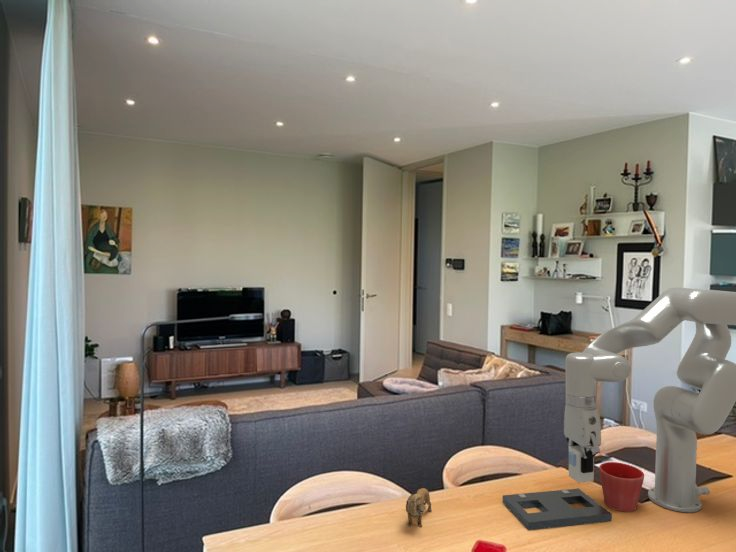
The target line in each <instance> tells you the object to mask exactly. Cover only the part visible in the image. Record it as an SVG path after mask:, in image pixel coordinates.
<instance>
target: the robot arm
mask: <svg viewBox="0 0 736 552" xmlns="http://www.w3.org/2000/svg"><path fill="white" fill-rule="evenodd" d="M684 321H688V322H693V323H695V334H694V337H693V339H692V341H691V342H690V345H689V347H688V348H687V350H686V352H685V354H684V355H683V357H682V359H681V361H680V363H679V365H678V366H677V370H676V376H677V378H678V379H679V381H680V382H681V383H683V384H684V385H687V386H688V387H691V388H694V389H697V390H700V392H699V393H697V392H695V391H692V390H688V389H687V388H686V389H685V388H683V387H679V386H674V385H667V386H664V387H662V388H660V389H659V390H657V392H656V393H655V395H654V398H653V403H652V404H653V411H654V416H655V424H656V440H655V441H656V442H655V465H654V466H655V468H654V469H655V471H654V472H655V473H654V487H651V488H649V489H648V491H647V492H648V493H647V496H648V497H647V498H649V500H650V501H652V502H653V503H654V504H656V505H658V506H659V507H662V508H665V509H668V510H670V511H675V512H681V513H697V512H698V511H700V510H702V504H703V503H702V501H701V500H700V499H699V497H701V495H702V496H704V495H710V493H711V491H710V488H709V487H708V486H700V487H698V485H697V484H696V477H697V454H698V453H697V450H698V439H697V434H701V435H712V434H714V433H715V432H717V431H719V430H720V428H721V427H722V426H723V424H724V423H725V421H726V420H727V418H728V416H729V414H730V413H731V411H732V409H733V407H734V405H736V363H735V362H733V361H731V360H729V359H726V357H727V355H728V353H729V351H730V349H731V346H732V335H731V332H730V329H729V327H728V325H729V326H736V291H729V290H727V291H726V290H717V289H716V290H715V289H701V288H699V289H698V288H686V287H671V288H668V289H666V290H665V291H663V292H662V293H661V294H660V295H659V296H658V297H656V298H655V299H654V300H653V301H651V303H649V305H647V306H646V307H645V308H644V309H643V310H641V312H639V313H638V314H637V315H636V316H635V317H633V319H631V320H628V321H625V322H624V323H621V324H618V325H617V326H615V327H612V328H610V329H608V330H606V331H604V332H603V333H601V334H600V335H598V336H597V337H596V338H595V339H594V340H592V341H591V342H590V343H589V344H588V345H587V346H586V347H585V348H584V350H583V351H582V352H577V351H576V352H570V353H568V354H567V355H566V357H565V361H564V362H565V366H564V367H565V370H564V371H565V406H564V416H563V418H564V419H563V434H564V436H565V438H566V441H567V447H568V449H569V446H577V445H581V448H582V455H583V457H581V472H582V473H590V472H593V458H594V459H595V457H596V455H598V454H599V453H601V448H600V447H601V445H602V429H601V428H602V426H601V419H600V413H599V409H598V408H597V407H598V406H597V401H598V400H597V382H604V383H620V382H623V381H625V380H626V379H628V378H629V376H630V374H631V372H632V371H631V370H632V367H631V363H630V362H629V360H628V359H627V358H626V357H624V356H623V355H621V354H620V353H622V352H624V351H626V350H629V349H634V348H640V347H649V346H652V345H655V344H658V343H660V342H661V341H663V339H665V338H666V337H667V336H668V335H669V334H671V332H672V331H674V329H675V328H677V327H678V326H679V325H680V324H682V323H683V322H684ZM586 448H589V451H588V452H586Z"/></svg>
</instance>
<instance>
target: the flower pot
mask: <svg viewBox="0 0 736 552" xmlns="http://www.w3.org/2000/svg"><path fill="white" fill-rule="evenodd" d="M598 468H599V469H598V470H599V475H600V484H601V489H602V495H603V499H604V503H605V505H606V506H607V507H609V508H610V509H611V510H612V509H613V510H615V511H618V512H622V513H623V512H624V513H626V512H627V513H630V512H633V511H636V509H637V507H638V503H639V500H640V496H641V494H642V493H641V492H642V488H643V484H644V480H645V474H644V472H643V470H641V469H640V468H638V467H635V466H632V465H631V464H627V463H622V462H616V461H614V462H613V461H610V462H609V461H608V462H603V463H601V464H600V465H599V467H598Z"/></svg>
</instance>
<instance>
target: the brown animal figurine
mask: <svg viewBox="0 0 736 552" xmlns="http://www.w3.org/2000/svg"><path fill="white" fill-rule="evenodd" d="M429 492H430V491H429V490H428V489H427V488H425V487H422V488H419V489H418V490H417V491H416V493H413V494H410V495H409V496H408V497H407V500H406V504H405V511H406V513H407V519H408V521H407V523H406V526H407V525H408V526H407V527H412V526H413V519H416V518H417V522H416V523H417V527H418V528H422V526H423V524H422V523H423V522H422V518H423V514H424V512H425V510H426V508H427V510H426V511H427V512H429V513H431V512H432V502H431V500H430V499H431V497H430V493H429ZM426 505H427V506H426ZM412 518H413V519H412ZM411 525H412V526H411Z"/></svg>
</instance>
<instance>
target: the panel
mask: <svg viewBox="0 0 736 552" xmlns="http://www.w3.org/2000/svg"><path fill="white" fill-rule="evenodd" d="M502 504H503V505H504V507H506V508H507V509H508V510H509V511H510V512H511V513H512V515H514V516H515V518H516V519H517V520H518V522H520V523H521V524H522V525H523V526H524V527H525V528H526V529H527V530H528V531H532V530H534V531H535V530H543V529H553V528H561V527H570V526H571V527H572V526H580V525H589V524H599V522H600V523H608V522H612V520H613V514H612V512H610V510H608V509H607V508H605V507H604V506H603V505H601V504H600V503H599V502H597V500H595V499H593V498H592V497H591V496H590V495H588V494H587V493H586V492H584V490H583V491H582V490H581V489H580V488H568V489H560V490H559V489H558V490H546V491H535V492H534V491H533V492H523V493H515V494H504V495H503V494H502ZM572 504H581V505H582V506H584V507H577V508H574V507H573V506H572ZM532 508H537V509H538V510H539V511H538V512H528V511H526V510H525V509H532Z"/></svg>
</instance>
